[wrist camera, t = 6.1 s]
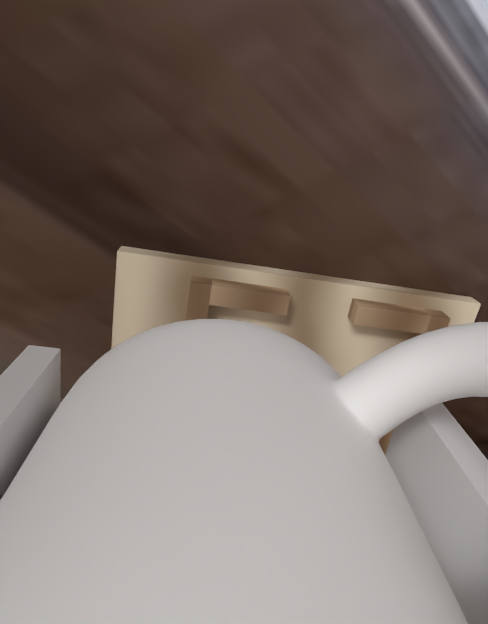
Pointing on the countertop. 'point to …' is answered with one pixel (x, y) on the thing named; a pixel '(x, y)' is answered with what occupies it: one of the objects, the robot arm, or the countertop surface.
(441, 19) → the countertop surface
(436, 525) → the robot arm
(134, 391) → the mug
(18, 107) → the countertop surface
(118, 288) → the board
